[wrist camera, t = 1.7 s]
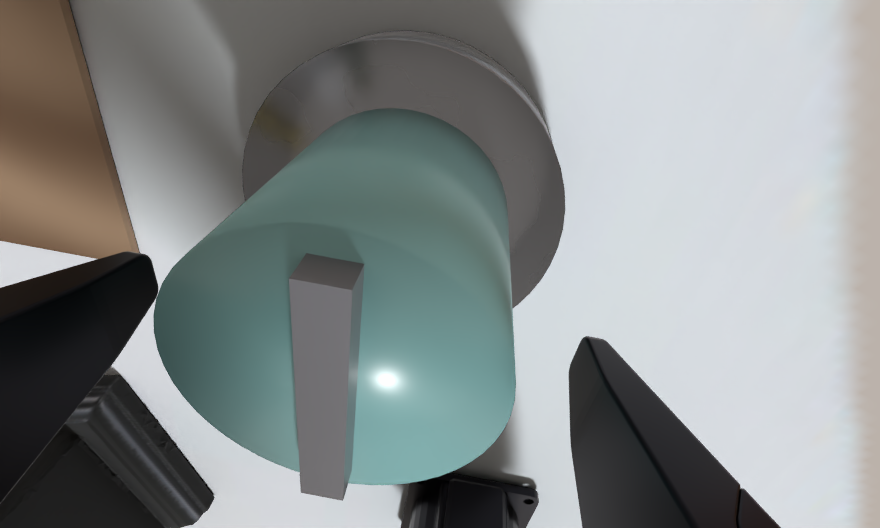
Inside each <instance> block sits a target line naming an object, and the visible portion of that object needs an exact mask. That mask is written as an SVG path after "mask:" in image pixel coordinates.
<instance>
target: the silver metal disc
mask: <svg viewBox="0 0 880 528" xmlns="http://www.w3.org/2000/svg"><path fill="white" fill-rule="evenodd" d="M384 108H398V109H407V110H414V111H418V112H422V113H426V114H429V115H431V116H434V117H436V118H439V119H441V120H444V121H445V122H447V123H449V124H451V125H452V126H454V127H456V128H458V129H459V130H460V131H462V132H463V133H464V134H466V135H467V136H468V137H470V138H471V139H472V140H473V141H474V142H475V143H476V144H477V145H478V146H479V147H480V148H481V149H482V151H483V152H484V153H485V154H486V156H487V157H488V158H489V159H490V161H491V163H492V164H493V166H494V168H495V169H496V171H497V173H498V175H499V177H500V180H501V182H502V185H503V188H504V192H505V196H506V200H507V209H508V226H509V247H510V269H511V291H512V308H514V307H515V306H516V305H518V304H519V303H520V302H521V301H522V300H523V299H524V298H525V297H526V296H527V295H528V294H530V292H531V291H532V290H533V289H534V288H535V286H536V285H537V284H538V283H539V281H540V280H541V279H542V277H543V276H544V274H545V272H546V271H547V269H548V267H549V266H550V264H551V262H552V260H553V257H554V255H555V253H556V250H557V248H558V245H559V241H560V237H561V234H562V230H563V223H564V214H565V192H564V184H563V178H562V173H561V168H560V165H559V162H558V159H557V156H556V153H555V150H554V147H553V144H552V141H551V138H550V135H549V132H548V129H547V126H546V124H545V122H544V120H543V118H542V116H541V114H540V112H539V110H538V108H537V106H536V104H535V103H534V101H533V100H532V99H531V97H530V96H529V94H528V93H527V91H526V90H525V89H524V87H523V86H522V85H521V84H520V83H519V82H518V81H517V80H516V79H515V78H514V77H513V76H512V75H511V74H510V73H509V72H508V71H507V70H506V69H505V68H503V67H502V66H501V65H500V64H498V63H497V62H496V61H495V60H493V59H492V58H490V57H489V56H487V55H485V54H484V53H482V52H480V51H479V50H477V49H475V48H474V47H471V46H469V45H467V44H464V43H462V42H459V41H457V40H455V39H452V38H448V37H445V36H441V35H437V34H433V33H427V32H417V31H387V32H382V33H377V34H372V35H367V36H363V37H361V38H358V39H355V40H352V41H350V42H347V43H344V44H342V45H340V46H337V47H335V48H333V49H330V50H328V51H326V52H323V53H321V54H319V55H317V56H315V57H314V58H312V59H310V60H308V61H307V62H305V63H303V64H301V65H300V66H298V67H297V68H296V69H295V70H293V71H292V72H291V73H290V74H288V75H287V76H286V77H285V78H283V79H282V81H281V82H280V83H279V84H278V85H277V86H276V87H275V88H274V89H273V91H272V92H271V93H270V94H269V95H268V97H267V98H266V100H265V101H264V103H263V105H262V106H261V108H260V109H259V111H258V112H257V115H256V117H255V119H254V122H253V124H252V126H251V128H250V131H249V134H248V138H247V142H246V146H245V150H244V159H243V169H242V173H243V191H244V197H245V201H247V200H248V199H249V198H250V197H251V196H252V195H253V194H254V193H256V192H257V191H258V190H259V189H260V188H261V187H262V186H264V185H265V184H266V183H267V182H268V181H269V180H270V179H271V178H273V177H274V176H275V175H276V174H277V173H278V172H279V171H280V170H282V169H283V168H284V167H285V166H286V165H287V164H288V163H290V162H291V161H292V160H293V159H294V158H295V157H296V156H297V155H299V154H300V153H301V152H302V151H303V150H304V149H305V148H306V147H308V146H309V145H310V144H311V143H312V142H313V141H314V140H316V139H317V138H318V137H319V136H320V135H321V134H322V133H323V132H325V131H326V130H327V129H328V128H330V127H331V126H333V125H334V124H336V123H337V122H339V121H341V120H343V119H345V118H347V117H349V116H351V115H354V114H357V113H360V112H364V111H369V110H375V109H384Z"/></svg>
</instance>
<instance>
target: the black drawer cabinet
mask: <svg viewBox="0 0 880 528" xmlns="http://www.w3.org/2000/svg"><path fill="white" fill-rule="evenodd" d="M213 500H214V496H213V494H212V493H211V492H210V491H209V490H208V488H207V487H206V485H205V484H204V482H203V481H202V480H201V479H200V477H199V476H198V475H197V473H196V472H195V471H194V470H193V468H192V467H191V466H190V465H189V463H188V462H187V461H186V459H185V458H184V457H183V455H182V454H181V453H180V451H179V450H178V449H177V448H176V446H175V445H174V444H173V443H172V441H171V440H170V439H169V437H168V436H167V435H166V433H164V431H163V429H162V428H161V426H160V425H159V424H158V423H157V422H156V420H155V419H154V418H153V417H152V415H151V414H150V413H149V411H148V410H147V409H146V408H145V406H144V405H143V404H142V402H141V401H140V400H139V398H138V397H137V396H136V395H135V393H134V392H133V391H132V389H131V388H130V387H129V385H128V384H127V383H126V382H125V380H124V379H123V378H122V377H121V376H102V378H101V379H100V380H99V381H98V383H97V384H96V385H95V386H94V388H93V389H92V390H91V391H90V393H89V394H88V395H87V396H86V398H85V399H84V400H83V401H82V403H81V404H80V405H79V406H78V408H77V409H76V410H75V411H74V413H73V414H72V415H71V416H70V418H69V419H68V420H67V421H66V423H65V424H64V425H63V426H62V428H61V429H60V430H59V431H58V433H57V434H56V435H55V436H54V438H53V439H52V440H51V441H50V442H49V444H48V445H47V446H46V447H45V449H44V450H43V451H42V452H41V454H40V455H39V456H38V457H37V459H36V460H35V461H34V462H33V464H32V465H31V466H30V467H29V469H28V470H27V471H26V472H25V474H24V475H23V476H22V477H21V479H20V480H19V481H18V482H17V484H16V485H15V486H14V487H13V489H12V490H11V491H10V492H9V494H8V495H7V496H6V497H5V499H4V500H3V501H2V502H1V504H0V528H181V527H184V526H188V525H193V524H194V523H195V522H197V521H198V520H199V518H200V517H201V516H202V514H203V513H204V512H206V511H207V510H208V509H209V507H210V505H211V504H212V502H213Z"/></svg>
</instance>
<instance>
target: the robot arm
mask: <svg viewBox="0 0 880 528" xmlns="http://www.w3.org/2000/svg"><path fill="white" fill-rule="evenodd" d="M157 294H158V283H157V280H156V276H155V272H154V268H153V265H152V261H151V259H150V258H149V257H148V256H147V255H145V254H141V253H135V252H129V251H125V252H121V253H117V254H114V255H111V256H107V257H104V258H101V259H97V260H94V261H90V262H87V263H84V264H80V265H77V266H73V267H70V268H67V269H63V270H60V271H56V272H53V273H50V274H46V275H43V276H39V277H36V278H33V279H29V280H26V281H22V282H19V283H16V284H12V285H9V286H5V287H2V288H0V504H1V502H2V501H3V500H4V499H5V497H6V496H7V495H8V494H9V492H10V491H11V490H12V489H13V487H14V486H15V485H16V484H17V482H18V481H19V480H20V479H21V477H22V476H23V475H24V474H25V472H26V471H27V470H28V469H29V467H30V466H31V465H32V464H33V462H34V461H35V460H36V459H37V457H38V456H39V455H40V454H41V452H42V451H43V450H44V449H45V447H46V446H47V445H48V444H49V442H50V441H51V440H52V439H53V438H54V436H55V435H56V434H57V433H58V431H59V430H60V429H61V428H62V426H63V425H64V424H65V423H66V421H67V420H68V419H69V418H70V416H71V415H72V414H73V413H74V411H75V410H76V409H77V408H78V406H79V405H80V404H81V403H82V401H83V400H84V399H85V398H86V396H87V395H88V394H89V393H90V391H91V390H92V389H93V388H94V386H95V385H96V384H97V383H98V381H99V380H100V379H101V378H102V376H103V375H104V374H105V373H106V372H107V370H108V369H109V368H110V366H111V365H112V364H113V362H114V361H115V360H116V359H117V357H118V356H119V354H120V353H121V351H122V350H123V348H124V347H125V345H126V344H127V342H128V341H129V339H130V338H131V336H132V334H133V333H134V331H135V330H136V328H137V327H138V325H139V324H140V322H141V320H142V319H143V317H144V316H145V314H146V313H147V311H148V310H149V308H150V307H151V305H152V303H153V302H154V300H155V299H156V297H157ZM569 404H570V437H571V450H572V458H573V465H574V472H575V479H576V485H577V492H578V499H579V506H580V513H581V520H582V527H583V528H781V527H780V526H779V525H778V524H777V523H776V522H775V521H774V520H773V519H772V518H771V517H770V516H769V515H768V514H767V513H766V512H765V511H764V510H763V508H762V507H761V506H760V505H759V504H758V503H757V502H756V501H755V500H754V499H753V498H752V497H751V496H750V495H749V493H748V492H747V491H746V490H745V489H740V484H739V483H738V482H737V481H736V480H735V479H734V478H733V477H732V475H731V474H730V473H729V472H728V471H727V470H726V469H725V468H724V467H723V466H722V465H721V464H720V463H719V461H718V460H717V459H716V458H715V457H714V456H713V455H712V454H711V453H710V452H709V451H708V450H707V449H706V448H705V446H704V445H703V444H702V443H701V442H700V441H699V440H698V439H697V438H696V437H695V436H694V435H693V434H692V433H691V431H690V430H689V429H688V428H687V427H686V426H685V425H684V424H683V423H682V422H681V421H680V420H679V419H678V417H677V416H676V415H675V414H674V413H673V412H672V411H671V410H670V409H669V408H668V407H667V406H666V405H665V404H664V402H663V401H662V400H661V399H660V398H659V397H658V396H657V395H656V394H655V393H654V392H653V391H652V390H651V389H650V387H649V386H648V385H647V384H646V383H645V382H644V381H643V380H642V379H641V378H640V377H639V376H638V375H637V373H636V372H635V371H634V370H633V369H632V368H631V367H630V366H629V365H628V364H627V363H626V362H625V361H624V360H623V358H622V357H621V356H620V355H619V354H618V353H617V352H616V351H615V350H614V349H613V348H612V347H611V346H610V345H609V343H608V342H606V341H605V340H603V339H599V338H594V337H589V336H586V337H584V338H583V339H582V340H581V342H580V344H579V346H578V348H577V351H576V353H575V355H574V357H573V360H572V362H571V364H570V368H569ZM538 503H539V499H538V493H537V491H535V490H534V489H530V488H525V487H520V486H515V485H509V484H504V483H499V482H493V481H488V480H483V479H478V478H472V477H467V476H462V475H457V474H451V473H447V474H444V475H442V476H439V477H435V478H431V479H427V480H424V481H418V482H412V483H409V488H408V493H407V498H406V503H405V508H404V513H403V518H402V523H401V528H526V526H527V524H528V522H529V521H530V519H531V517H532V515H533V513H534V511H535V509H536V507H537V505H538Z"/></svg>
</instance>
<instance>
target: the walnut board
mask: <svg viewBox="0 0 880 528" xmlns="http://www.w3.org/2000/svg"><path fill="white" fill-rule="evenodd" d="M0 241H5V242H11V243H16V244H21V245H27V246H32V247H37V248H43V249H48V250H54V251H59V252H64V253H70V254H75V255H80V256H86V257H91V258H97V259H101V258H104V257H107V256H111V255H114V254H117V253H121V252H125V251H129V252H135V253H139V250H138V246H137V243H136V239H135V236H134V232H133V229H132V225H131V221H130V218H129V214H128V211H127V207H126V204H125V200H124V197H123V193H122V189H121V186H120V182H119V179H118V175H117V172H116V168H115V165H114V161H113V158H112V154H111V150H110V147H109V143H108V140H107V136H106V133H105V129H104V126H103V122H102V118H101V115H100V111H99V108H98V104H97V101H96V97H95V94H94V90H93V87H92V83H91V79H90V76H89V72H88V69H87V65H86V62H85V58H84V55H83V51H82V47H81V44H80V40H79V37H78V33H77V30H76V26H75V23H74V19H73V16H72V12H71V8H70V5H69V1H68V0H0Z"/></svg>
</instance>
